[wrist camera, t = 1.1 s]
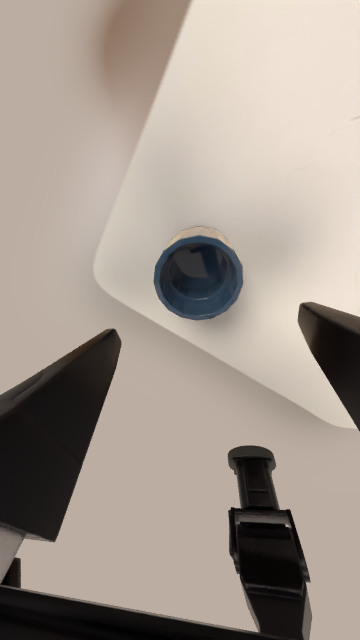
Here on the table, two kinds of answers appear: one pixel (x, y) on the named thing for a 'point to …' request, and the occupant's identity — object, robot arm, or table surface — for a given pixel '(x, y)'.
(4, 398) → the robot arm
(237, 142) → the table surface
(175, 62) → the table surface
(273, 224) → the table surface
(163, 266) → the bowl
